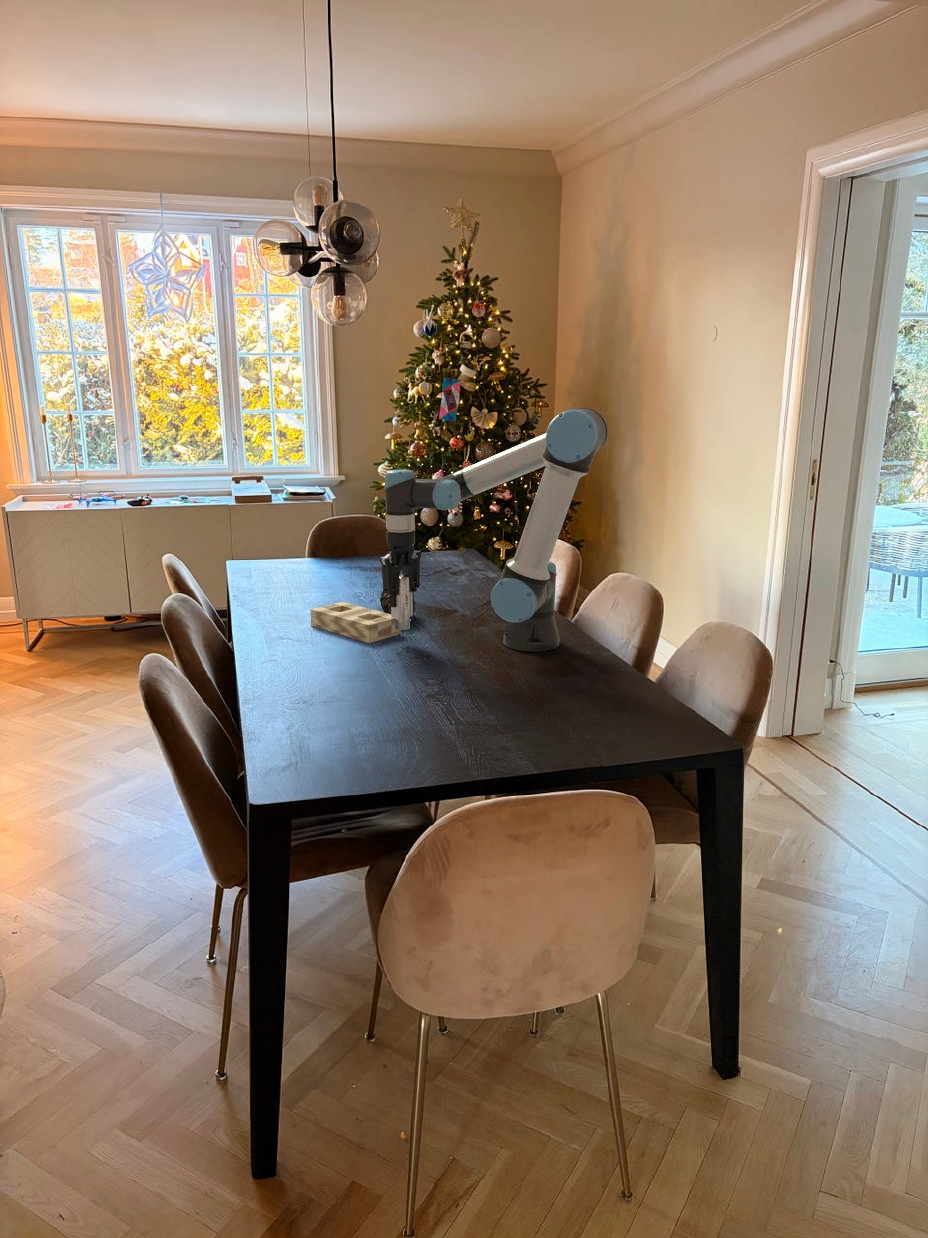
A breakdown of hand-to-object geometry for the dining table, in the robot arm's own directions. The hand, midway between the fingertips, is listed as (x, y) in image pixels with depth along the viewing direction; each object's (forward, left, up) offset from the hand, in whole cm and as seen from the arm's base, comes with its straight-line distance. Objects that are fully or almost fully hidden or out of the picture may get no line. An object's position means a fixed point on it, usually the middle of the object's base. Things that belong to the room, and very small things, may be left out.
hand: (402, 616), depth 238 cm
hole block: (+19, 0, -7) cm, 20 cm away
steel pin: (0, 0, -3) cm, 3 cm away
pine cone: (+17, -17, -8) cm, 25 cm away
